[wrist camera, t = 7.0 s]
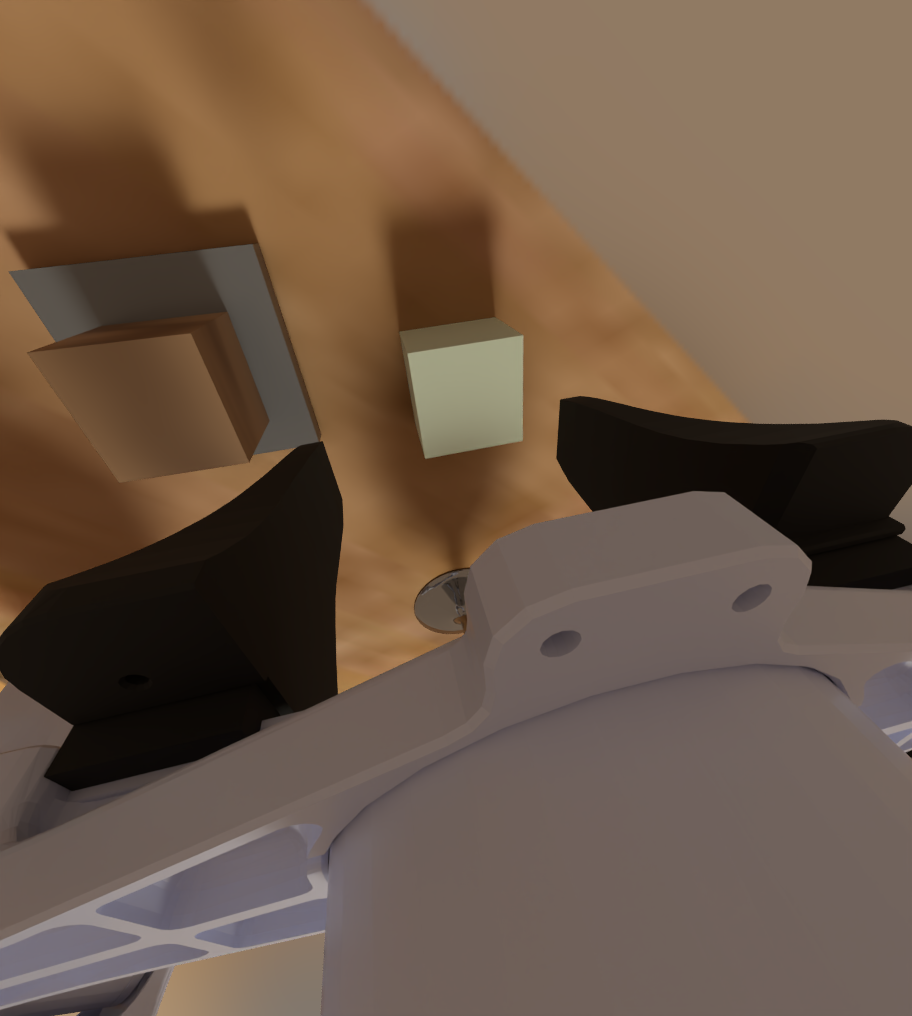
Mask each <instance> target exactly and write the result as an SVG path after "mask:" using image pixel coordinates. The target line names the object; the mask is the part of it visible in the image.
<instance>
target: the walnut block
mask: <svg viewBox="0 0 912 1016" xmlns="http://www.w3.org/2000/svg"><path fill="white" fill-rule="evenodd" d="M27 353H28V355H29V356H30V358H31V359H32V360H33V362H34V363H35V365H36V366H37V367H38V369H39V370H40V372H41V373H42V375H43V376H44V377H45V379H46V380H47V382H48V383H49V384H50V386H51V387H52V389H53V390H54V392H55V393H56V394H57V396H58V397H59V399H60V400H61V401H62V403H63V404H64V406H65V407H66V408H67V410H68V411H69V413H70V414H71V416H72V417H73V418H74V420H75V421H76V423H77V424H78V425H79V427H80V428H81V430H82V431H83V432H84V434H85V435H86V437H87V438H88V440H89V441H90V442H91V444H92V445H93V447H94V448H95V449H96V451H97V452H98V454H99V455H100V457H101V458H102V459H103V461H104V462H105V464H106V465H107V466H108V468H109V469H110V471H111V472H112V473H113V475H114V476H115V478H116V479H117V481H118V482H119V483H122V482H128V481H135V480H141V479H148V478H154V477H160V476H167V475H173V474H180V473H186V472H192V471H199V470H205V469H211V468H218V467H224V466H231V465H237V464H243V463H249V462H250V460H251V458H252V456H253V454H254V452H255V450H256V448H257V446H258V444H259V442H260V439H261V437H262V435H263V433H264V431H265V429H266V427H267V425H268V423H269V421H270V420H269V418H268V415H267V413H266V410H265V407H264V405H263V402H262V400H261V397H260V394H259V392H258V389H257V387H256V384H255V382H254V379H253V376H252V374H251V371H250V369H249V366H248V363H247V361H246V358H245V356H244V353H243V351H242V348H241V345H240V343H239V340H238V338H237V335H236V333H235V330H234V327H233V325H232V322H231V320H230V317H229V314H228V312H220V313H211V314H203V315H194V316H185V317H176V318H167V319H158V320H150V321H141V322H132V323H123V324H114V325H105V326H100V327H97V328H94V329H92V330H89V331H86V332H83V333H80V334H78V335H75V336H72V337H69V338H66V339H64V340H61V341H58V342H55V343H53V344H50V345H47V346H44V347H41V348H39V349H36V350H33V351H30V352H27Z"/></svg>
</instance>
